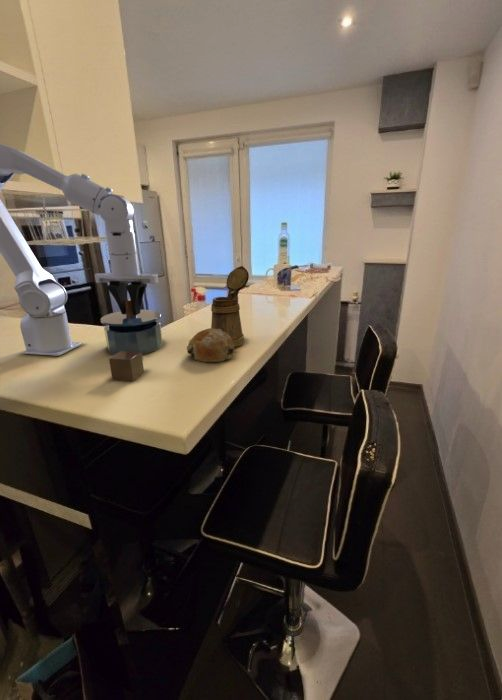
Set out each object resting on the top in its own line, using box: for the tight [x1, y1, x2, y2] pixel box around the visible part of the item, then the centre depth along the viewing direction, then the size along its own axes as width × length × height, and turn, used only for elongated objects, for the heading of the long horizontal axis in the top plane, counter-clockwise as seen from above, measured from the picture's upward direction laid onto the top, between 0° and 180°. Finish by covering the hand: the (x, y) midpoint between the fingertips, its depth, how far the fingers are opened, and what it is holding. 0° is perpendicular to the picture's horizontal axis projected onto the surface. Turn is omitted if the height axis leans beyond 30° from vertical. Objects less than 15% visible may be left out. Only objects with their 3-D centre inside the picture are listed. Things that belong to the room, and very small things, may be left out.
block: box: [108, 351, 145, 382], centre depth 64 cm, size 4×4×4 cm
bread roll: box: [186, 327, 235, 363], centre depth 73 cm, size 10×10×8 cm
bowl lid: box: [100, 298, 162, 326], centre depth 77 cm, size 14×14×5 cm
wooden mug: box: [210, 265, 250, 348], centre depth 82 cm, size 9×14×18 cm, turn 153°
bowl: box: [103, 319, 163, 355], centre depth 79 cm, size 13×13×6 cm
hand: (131, 313), depth 77 cm, fingers closed on bowl lid, 2 cm apart
